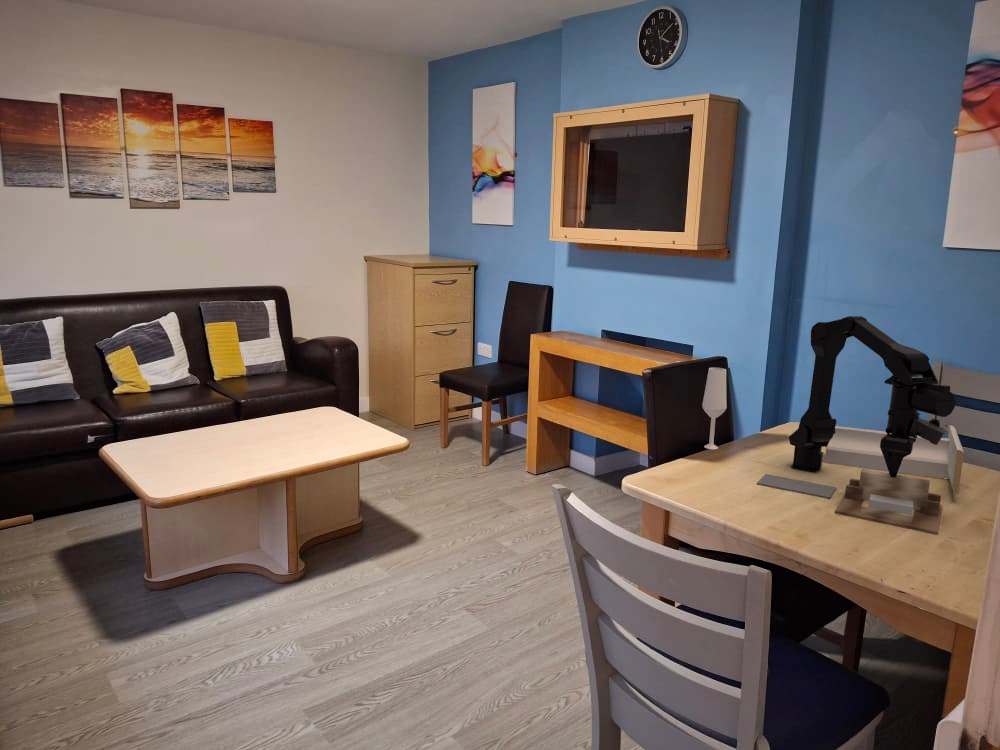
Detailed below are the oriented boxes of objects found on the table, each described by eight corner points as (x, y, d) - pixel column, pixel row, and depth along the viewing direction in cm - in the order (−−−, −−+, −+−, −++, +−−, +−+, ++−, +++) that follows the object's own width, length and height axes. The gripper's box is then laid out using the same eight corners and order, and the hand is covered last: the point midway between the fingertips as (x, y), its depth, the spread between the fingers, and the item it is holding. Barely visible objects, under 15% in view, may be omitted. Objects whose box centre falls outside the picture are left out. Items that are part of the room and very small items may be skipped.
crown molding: (955, 441, 192) (958, 436, 189) (955, 483, 187) (958, 478, 184) (827, 427, 204) (828, 421, 201) (824, 465, 199) (825, 460, 196)
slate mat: (756, 484, 181) (756, 482, 180) (765, 475, 188) (765, 473, 188) (829, 498, 171) (830, 497, 171) (836, 488, 179) (836, 487, 179)
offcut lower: (860, 513, 161) (861, 505, 160) (863, 507, 165) (864, 499, 164) (911, 524, 155) (912, 516, 155) (913, 517, 159) (914, 509, 159)
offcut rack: (834, 513, 162) (836, 497, 162) (848, 489, 179) (849, 475, 178) (937, 534, 151) (940, 518, 151) (942, 507, 168) (944, 492, 167)
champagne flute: (727, 453, 207) (734, 371, 203) (706, 453, 206) (712, 371, 202) (715, 446, 214) (721, 366, 210) (694, 447, 212) (700, 367, 208)
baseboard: (957, 500, 170) (964, 450, 168) (943, 497, 172) (950, 448, 170) (949, 468, 197) (955, 426, 195) (937, 466, 199) (943, 424, 197)
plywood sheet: (857, 497, 171) (860, 471, 170) (859, 494, 173) (862, 468, 172) (925, 511, 163) (929, 483, 162) (926, 507, 166) (930, 480, 165)
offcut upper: (868, 507, 160) (869, 499, 159) (869, 501, 163) (870, 493, 163) (912, 515, 156) (913, 507, 155) (911, 508, 159) (913, 501, 159)
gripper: (943, 420, 152) (932, 490, 155) (946, 404, 167) (937, 469, 170) (884, 411, 158) (875, 479, 161) (892, 398, 173) (884, 460, 176)
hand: (895, 472), depth 167 cm, fingers open, 9 cm apart
